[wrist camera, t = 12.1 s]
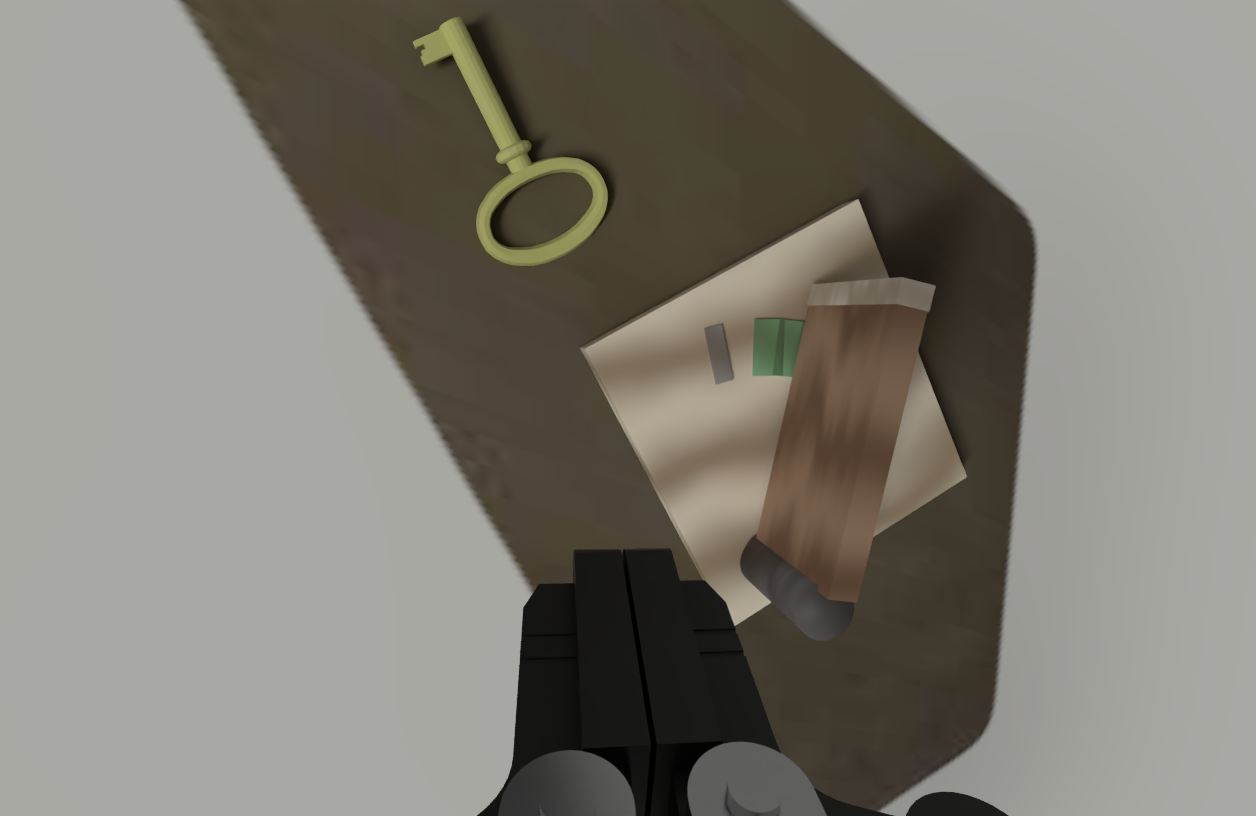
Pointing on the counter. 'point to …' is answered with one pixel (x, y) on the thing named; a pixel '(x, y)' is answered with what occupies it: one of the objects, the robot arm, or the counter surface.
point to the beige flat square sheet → (749, 395)
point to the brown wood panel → (836, 449)
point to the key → (511, 153)
